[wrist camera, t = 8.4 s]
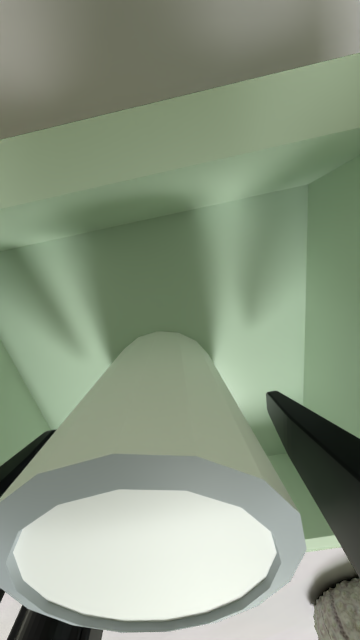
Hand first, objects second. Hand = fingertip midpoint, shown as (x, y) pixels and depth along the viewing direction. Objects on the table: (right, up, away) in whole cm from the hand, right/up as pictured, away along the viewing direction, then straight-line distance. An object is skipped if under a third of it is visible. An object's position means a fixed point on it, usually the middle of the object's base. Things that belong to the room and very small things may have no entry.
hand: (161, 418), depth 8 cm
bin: (0, +1, +4) cm, 4 cm away
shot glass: (0, +1, +3) cm, 3 cm away
